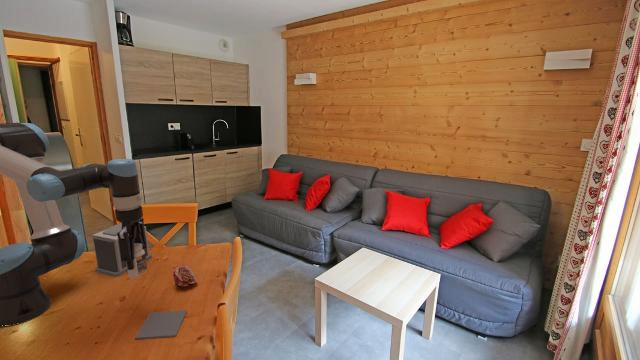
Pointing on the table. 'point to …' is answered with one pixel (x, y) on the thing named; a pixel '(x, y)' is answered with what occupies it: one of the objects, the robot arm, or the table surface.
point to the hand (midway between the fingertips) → (137, 271)
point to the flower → (183, 276)
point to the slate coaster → (161, 325)
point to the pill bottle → (140, 258)
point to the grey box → (111, 252)
